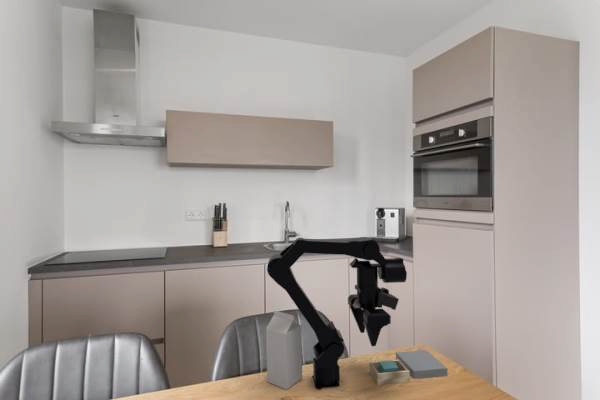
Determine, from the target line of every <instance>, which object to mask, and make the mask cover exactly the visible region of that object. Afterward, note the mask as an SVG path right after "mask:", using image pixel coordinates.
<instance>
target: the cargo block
mask: <svg viewBox="0 0 600 400" xmlns="http://www.w3.org/2000/svg"><path fill="white" fill-rule="evenodd" d="M383 361H384V362H379V373H385V372H395V371H398V367H397V366H396V364H395V363H394V362H393V361H387V360H383Z"/></svg>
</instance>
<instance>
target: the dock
mask: <svg viewBox="0 0 600 400" xmlns="http://www.w3.org/2000/svg"><path fill="white" fill-rule="evenodd" d="M398 359H399V360H400V361H401V363H402V364H403V365H404V366H405V367H406V368H407V369H408V370H409V371H410V376H411V377H412V378H413V379H414V380H416V379H426V378H436V377H446V376H447V377H448V367H447V366H446V365H444V364H443V363H442V362H441V361H440V360H438V359H437V358H436V357H435V356H434V355H433V354H432V353H431V352H429V351H428V350H427V349H420V350H407V351H395V360H398Z"/></svg>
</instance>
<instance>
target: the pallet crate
mask: <svg viewBox="0 0 600 400" xmlns="http://www.w3.org/2000/svg"><path fill="white" fill-rule="evenodd" d="M384 361H385V360H379V361H377V360H376V361H369V362H368V363H369V364H368V372H369V375H370V376H371V377H372V379H373V381H375V383H376V385H377V386H386V385H396V384H397V385H398V384H406V383H411V379H410V378H411V377H410V376H411V375H410V371H409V370H408V369H407V368H406V367H405V366H404V365H403V364H402V363H401V361H400V360H399V359H398V360H397V359H388V360H386V361H393V362H394V363H395V364H396V366H397V367H398V371H395V372H385V373H379V362H384Z"/></svg>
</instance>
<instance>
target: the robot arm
mask: <svg viewBox="0 0 600 400" xmlns="http://www.w3.org/2000/svg"><path fill="white" fill-rule="evenodd" d="M304 254H318V255H319V254H320V255H323V254H324V255H345V256H349V257H353V258H354V259H353V260H352V261H351V262H350V263H349V267H351V268H352V269H356V284H354V289H355V290H356V293H355V294H354V293H353V294H350V295H348V297H347V305H348V306H349V307H348V308H349V309H350V310H351V313H352V316H353V317H354V320H355V323H356V325H357V327H358V330H359V332H360V333H361V334H364V333H366V334H367V337H368V341H369V342H370V346H371V347H376V346H377V342H378V339H379V336H380V333H381V331H382V329H383V328H385V327H386V326H388V325H390V324H391V323H392V322H391V320H392V319H391V315H390V314H389V312H387V311H386V310H384V309H383V306H384V307H387V308H389V309H391V310H394V311H395V310H396V309H397V306H398V303H399V300H400V299H399V298H398V297H397V296H395V295H393V294H392V293H390V291H389V289H388V288H386V287H380V286H379V281H378V280H381V281H382V282H383V283H386V284H390V283H394V284H395V283H406V280H407V278H408V277H407V276H408V273H407V269H406V266H405V264H404V258H402V257H393V258H389V257H388V258H386V257H384V255H383V254H382V252H381V249H380V245H379V243H378V242H377V241H376V240H374V239H372V238H370V237H366V236H365V237H364V236H362V237H361V236H360V237H355V238H354V237H353V238H349V239H342V240H341V239H324V238H321V239H319V238H304V237H296V239H295V240H293V242H292V243H291V244H290V245H288V246H287V247H286V248H284V249H283V250H282V251H281V252H280V253H279V254H274V255H272V256H271V257H269V259H268V262H267V267H266V272H267V274H268V276H269V277H270V278H271V279H272V280H273V281H274V283H276V284H277V285H278V286H279V287H281V288H282V289H283V290H285V292H286V293H287V294H288V296H289V297H290V299H291V301H292V302H293V304H294V305H295V306H296V308H297V309H298V310H299V311H300V313H301V314H302V316H303V317H304V319H305V321H307V323H308V324H309V326H310V328H311V329H312V330H313V332H314V334H315V337H316V339H317V340H318V341H317V343H315V344H314V345H313V347H312V349H313V353H314V357H312V363H313V364H312V366H313V367H312V370H313V372H312V373H313V375H312V376H311V379H312V381H313V384H314V387H315V389H316V390H321V389H326V388H337V387H340V383H339V382H340V381H341V380H340V377H341V375H340V366H339V363H338V362H339V359H340V358H341V357H342V356H343V354H344V351H345V345H344V343H343V342H344V341H345V340H344V338H343V335H342V334H341V331H340V330H338V329H337V327H336V326H335V323H334V322H333V320H331V321H330V322H329V323H328V322H327V321H326V320H325V319H324V318H323V317H322V315H321V313H319V311H318V309H317V308H316V306H315V305H314V304H313V302H312V301H311V300H310V298H309V296H308V295H307V293H306V292H305V291H304V289H303V288H302V286H301V285H300V284H299V281H297V280H296V276H295V274H294V273H293V270H292V267H293V265H294V264H295V263H296V262H297V261H298V260H299V259H300V258H301V256H302V255H304ZM359 259H360V260H359ZM370 261H374V262H375V263H371V262H370Z"/></svg>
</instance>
